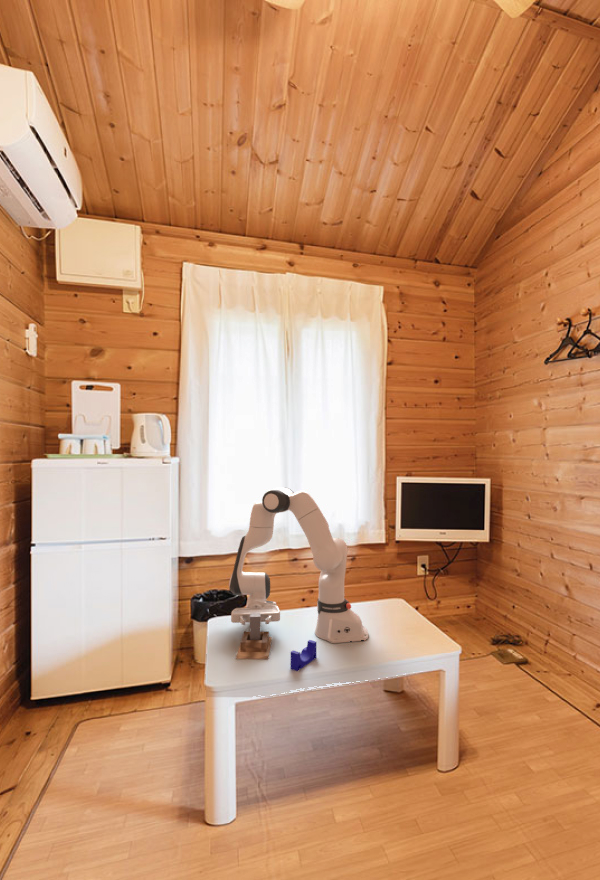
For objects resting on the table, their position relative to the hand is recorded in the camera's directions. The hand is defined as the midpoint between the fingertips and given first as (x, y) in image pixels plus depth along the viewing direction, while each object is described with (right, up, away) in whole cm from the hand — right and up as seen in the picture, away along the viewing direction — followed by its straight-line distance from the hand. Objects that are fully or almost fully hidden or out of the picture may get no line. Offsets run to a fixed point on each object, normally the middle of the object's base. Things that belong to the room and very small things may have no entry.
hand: (255, 622), depth 160 cm
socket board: (0, -9, -3) cm, 9 cm away
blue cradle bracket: (+19, -9, -13) cm, 25 cm away
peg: (0, -8, -3) cm, 8 cm away
